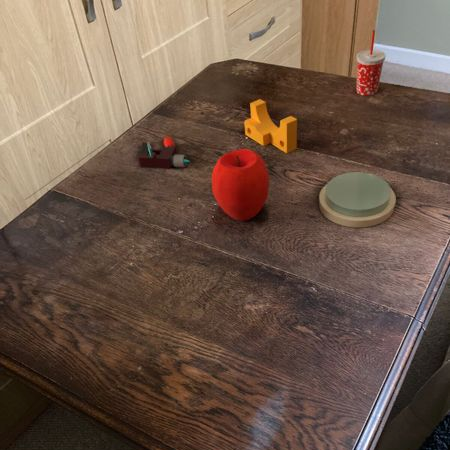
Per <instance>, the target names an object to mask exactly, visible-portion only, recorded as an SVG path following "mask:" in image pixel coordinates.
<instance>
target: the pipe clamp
mask: <svg viewBox="0 0 450 450" xmlns="http://www.w3.org/2000/svg"><path fill="white" fill-rule="evenodd" d="M249 104H250V105H249V106H250V118H247V119H245V120H244V135H245V136H247V137H248V138H250V139H252V140H253V141H254V142H256V143H258V144H260V145H261V146H262V147H265V146H267V145H269V144H271V145H272V146H274V147H276V148H277V149H279V150H280V151H282V152H284V153H285V154H289V153H291V152H293V151H296V150H297V147H298V118H296V117H294V116H292V115H289V116H288V117H285V118H283V119H281V120H280V123H279V126H277V125H276V124H275V123H274V122H273V121H272V118H271V117H270V115H269V112H268V108H267V102H266V101H265V100H262V99H260V98H259V99H257V100H254V101H252V102H249Z"/></svg>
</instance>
